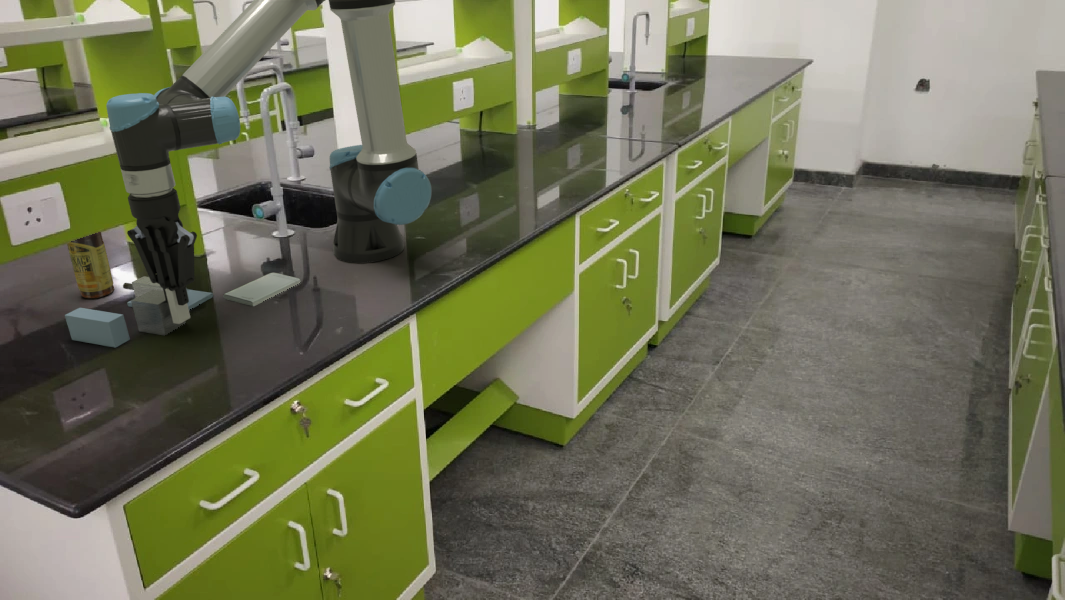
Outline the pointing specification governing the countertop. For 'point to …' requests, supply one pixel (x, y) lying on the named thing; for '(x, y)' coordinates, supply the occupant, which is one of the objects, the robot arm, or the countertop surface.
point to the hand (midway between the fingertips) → (181, 320)
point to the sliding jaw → (143, 286)
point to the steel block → (153, 313)
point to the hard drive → (261, 289)
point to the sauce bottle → (91, 266)
